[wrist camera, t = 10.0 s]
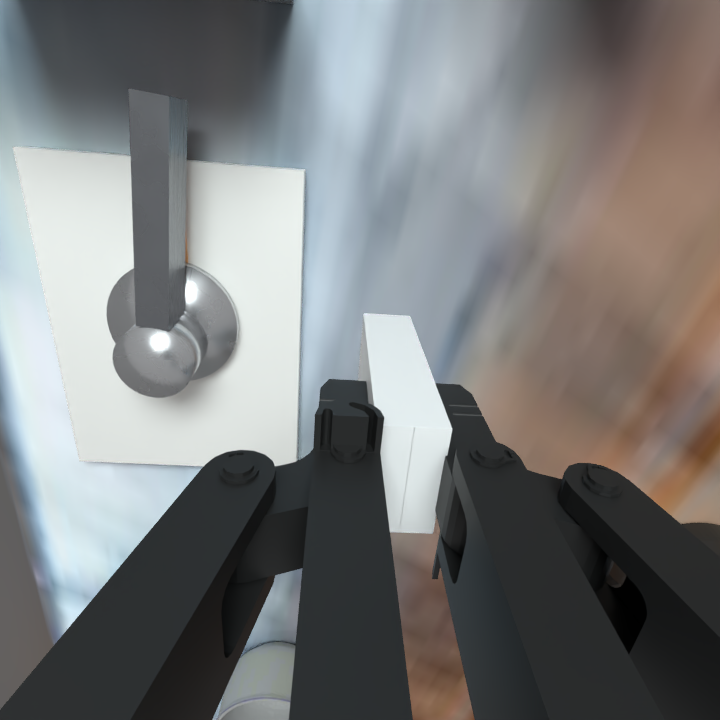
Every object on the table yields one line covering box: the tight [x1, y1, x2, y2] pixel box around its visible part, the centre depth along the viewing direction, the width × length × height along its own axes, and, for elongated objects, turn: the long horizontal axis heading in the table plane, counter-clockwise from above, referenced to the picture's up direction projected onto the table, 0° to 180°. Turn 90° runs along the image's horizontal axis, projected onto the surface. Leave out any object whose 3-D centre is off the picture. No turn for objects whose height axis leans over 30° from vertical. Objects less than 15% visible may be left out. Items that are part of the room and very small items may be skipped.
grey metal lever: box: [106, 88, 239, 398], centre depth 30 cm, size 19×9×5 cm, turn 170°
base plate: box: [13, 146, 306, 466], centre depth 35 cm, size 25×18×2 cm
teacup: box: [217, 642, 295, 720], centre depth 50 cm, size 14×11×8 cm
